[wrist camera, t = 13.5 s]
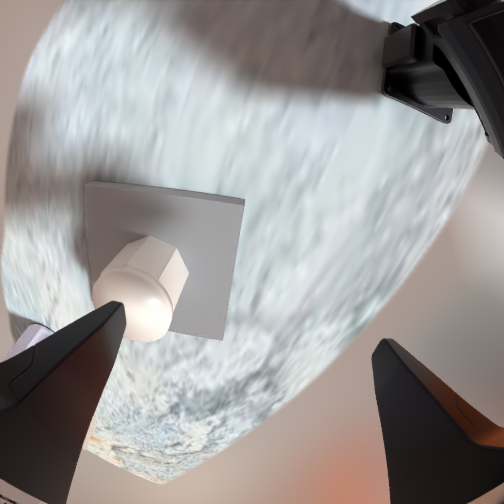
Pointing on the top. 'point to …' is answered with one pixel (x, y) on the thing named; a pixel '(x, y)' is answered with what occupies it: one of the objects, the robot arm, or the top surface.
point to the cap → (143, 286)
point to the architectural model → (89, 433)
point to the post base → (171, 243)
